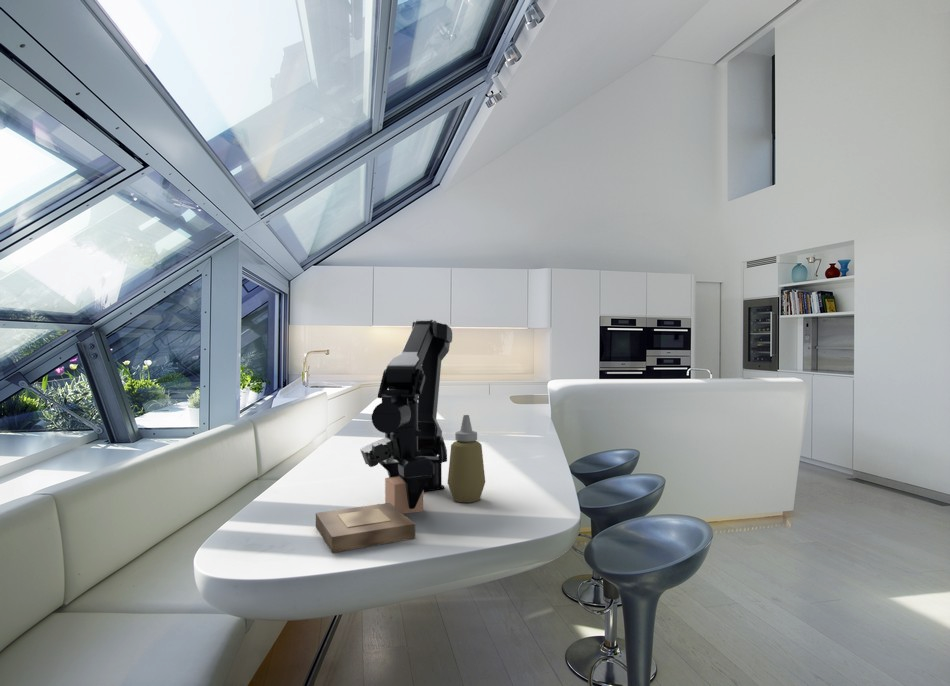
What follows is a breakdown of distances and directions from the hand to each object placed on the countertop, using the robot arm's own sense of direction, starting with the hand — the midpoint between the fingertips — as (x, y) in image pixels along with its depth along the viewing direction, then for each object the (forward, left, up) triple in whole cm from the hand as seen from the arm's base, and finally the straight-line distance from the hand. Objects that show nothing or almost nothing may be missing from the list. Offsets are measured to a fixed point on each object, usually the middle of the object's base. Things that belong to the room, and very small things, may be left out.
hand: (404, 502), depth 110 cm
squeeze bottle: (-14, 0, -1) cm, 14 cm away
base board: (+11, +10, -1) cm, 15 cm away
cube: (0, 0, -1) cm, 1 cm away
